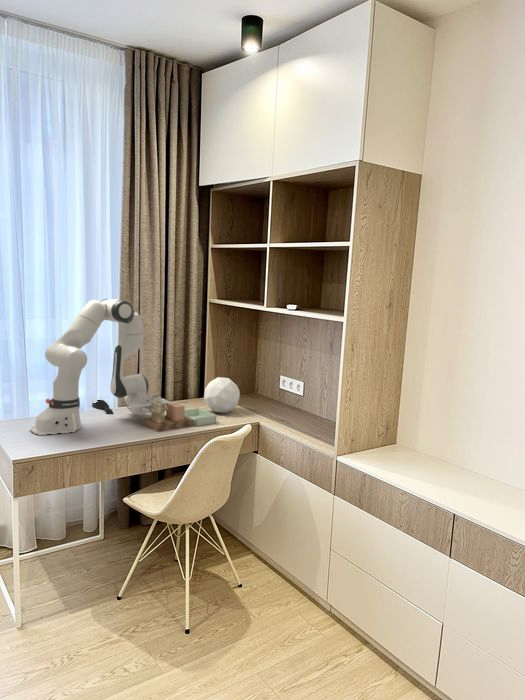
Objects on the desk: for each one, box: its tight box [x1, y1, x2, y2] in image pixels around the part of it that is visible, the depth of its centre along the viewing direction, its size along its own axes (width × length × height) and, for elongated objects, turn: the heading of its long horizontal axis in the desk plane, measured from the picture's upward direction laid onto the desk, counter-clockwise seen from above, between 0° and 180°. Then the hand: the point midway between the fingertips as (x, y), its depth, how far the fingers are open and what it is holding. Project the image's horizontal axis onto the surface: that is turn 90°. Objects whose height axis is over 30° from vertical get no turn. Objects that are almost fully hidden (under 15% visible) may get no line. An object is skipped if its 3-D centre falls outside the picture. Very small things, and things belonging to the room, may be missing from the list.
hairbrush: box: [91, 399, 114, 415], centre depth 287 cm, size 8×4×25 cm
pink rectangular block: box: [165, 401, 180, 419], centre depth 266 cm, size 5×4×7 cm
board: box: [142, 414, 195, 432], centre depth 263 cm, size 20×14×3 cm
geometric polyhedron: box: [203, 376, 241, 414], centre depth 291 cm, size 19×20×20 cm
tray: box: [184, 407, 217, 427], centre depth 273 cm, size 12×17×4 cm
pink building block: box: [171, 403, 186, 421], centre depth 263 cm, size 5×4×7 cm
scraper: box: [150, 401, 166, 423], centre depth 258 cm, size 3×8×9 cm, turn 39°
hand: (157, 410), depth 258 cm, fingers open, 8 cm apart
